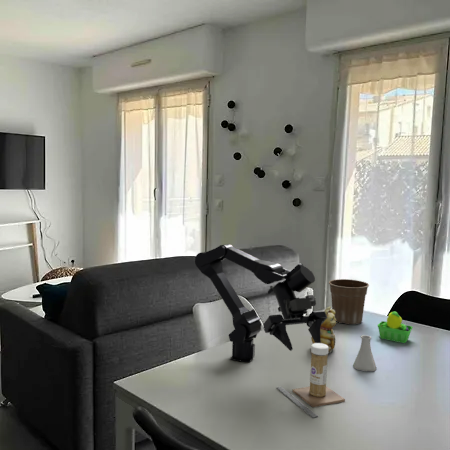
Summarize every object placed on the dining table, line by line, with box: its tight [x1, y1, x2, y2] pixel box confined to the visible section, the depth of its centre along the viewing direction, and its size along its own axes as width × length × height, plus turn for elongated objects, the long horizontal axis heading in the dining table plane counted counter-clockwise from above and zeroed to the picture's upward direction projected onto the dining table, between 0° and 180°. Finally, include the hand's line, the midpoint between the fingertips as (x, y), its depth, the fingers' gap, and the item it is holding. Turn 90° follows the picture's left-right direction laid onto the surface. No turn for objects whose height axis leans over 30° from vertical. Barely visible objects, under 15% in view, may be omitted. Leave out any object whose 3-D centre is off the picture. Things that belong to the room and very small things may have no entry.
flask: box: [352, 334, 377, 372], centre depth 150 cm, size 7×7×10 cm
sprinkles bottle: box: [309, 343, 329, 397], centre depth 129 cm, size 5×5×14 cm
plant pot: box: [328, 278, 370, 325], centre depth 202 cm, size 16×16×16 cm
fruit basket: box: [377, 311, 413, 344], centre depth 179 cm, size 11×9×11 cm
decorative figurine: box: [310, 306, 337, 354], centre depth 165 cm, size 10×8×15 cm
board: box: [292, 385, 346, 408], centre depth 129 cm, size 10×10×1 cm
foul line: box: [276, 386, 319, 419], centre depth 126 cm, size 18×2×1 cm, turn 23°
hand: (305, 348), depth 135 cm, fingers open, 9 cm apart
